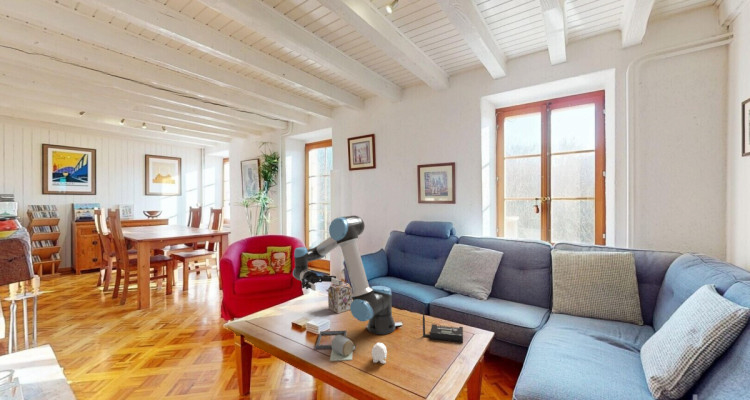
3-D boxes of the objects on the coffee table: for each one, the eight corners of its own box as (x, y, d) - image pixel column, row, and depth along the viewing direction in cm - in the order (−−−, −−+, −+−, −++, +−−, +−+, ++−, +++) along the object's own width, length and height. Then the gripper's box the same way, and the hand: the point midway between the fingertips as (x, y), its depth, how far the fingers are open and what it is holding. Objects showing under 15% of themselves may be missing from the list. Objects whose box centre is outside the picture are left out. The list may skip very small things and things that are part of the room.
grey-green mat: (352, 348, 152) (352, 348, 152) (352, 360, 142) (352, 359, 142) (332, 349, 151) (332, 348, 151) (329, 360, 141) (329, 360, 141)
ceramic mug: (343, 359, 141) (343, 342, 141) (331, 353, 147) (330, 337, 147) (359, 350, 150) (359, 334, 150) (347, 345, 155) (346, 329, 155)
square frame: (346, 333, 169) (346, 330, 169) (344, 348, 153) (344, 345, 153) (320, 334, 168) (320, 331, 168) (315, 349, 152) (315, 346, 152)
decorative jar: (343, 304, 212) (342, 277, 211) (353, 309, 203) (352, 281, 202) (327, 309, 204) (326, 281, 204) (337, 314, 195) (336, 285, 195)
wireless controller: (462, 332, 167) (462, 300, 166) (463, 345, 154) (462, 310, 153) (425, 329, 172) (424, 298, 172) (422, 341, 159) (421, 307, 158)
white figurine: (370, 345, 137) (376, 335, 149) (370, 365, 137) (376, 353, 148) (384, 346, 136) (389, 336, 147) (384, 366, 135) (389, 355, 147)
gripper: (328, 279, 187) (347, 287, 171) (288, 288, 172) (304, 297, 156) (327, 266, 187) (346, 273, 170) (287, 274, 172) (304, 282, 155)
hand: (326, 285), depth 163 cm, fingers open, 13 cm apart
